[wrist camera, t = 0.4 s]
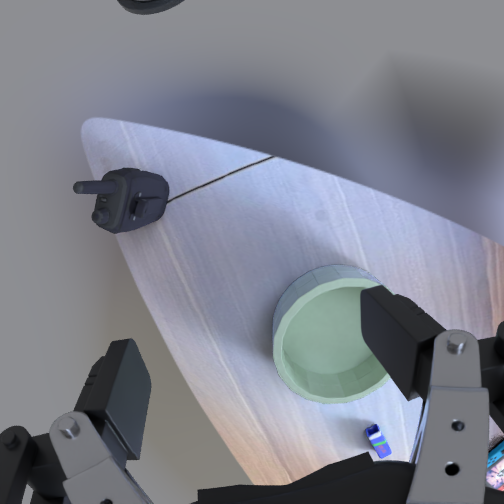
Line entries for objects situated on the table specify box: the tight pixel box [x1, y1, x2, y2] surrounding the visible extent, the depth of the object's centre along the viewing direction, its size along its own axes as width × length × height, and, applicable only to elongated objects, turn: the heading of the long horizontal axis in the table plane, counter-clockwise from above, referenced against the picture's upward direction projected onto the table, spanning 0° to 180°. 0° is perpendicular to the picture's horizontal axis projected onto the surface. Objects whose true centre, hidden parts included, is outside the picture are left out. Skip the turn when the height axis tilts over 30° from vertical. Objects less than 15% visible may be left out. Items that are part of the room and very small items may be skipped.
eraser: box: [366, 424, 392, 459], centre depth 36 cm, size 2×6×2 cm, turn 30°
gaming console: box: [486, 441, 504, 491], centre depth 38 cm, size 24×2×10 cm
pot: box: [272, 264, 395, 404], centre depth 31 cm, size 14×14×6 cm
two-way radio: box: [73, 168, 169, 234], centre depth 25 cm, size 6×4×15 cm
